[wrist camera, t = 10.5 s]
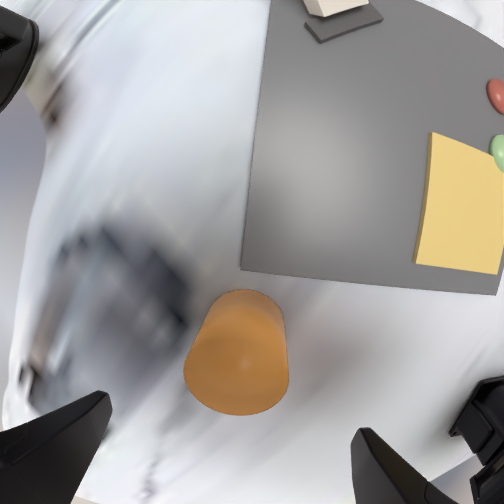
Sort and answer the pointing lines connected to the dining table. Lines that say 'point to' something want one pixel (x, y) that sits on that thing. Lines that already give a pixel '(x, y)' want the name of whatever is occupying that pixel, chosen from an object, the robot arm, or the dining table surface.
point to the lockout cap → (239, 355)
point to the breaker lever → (331, 6)
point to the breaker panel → (378, 150)
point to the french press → (15, 52)
